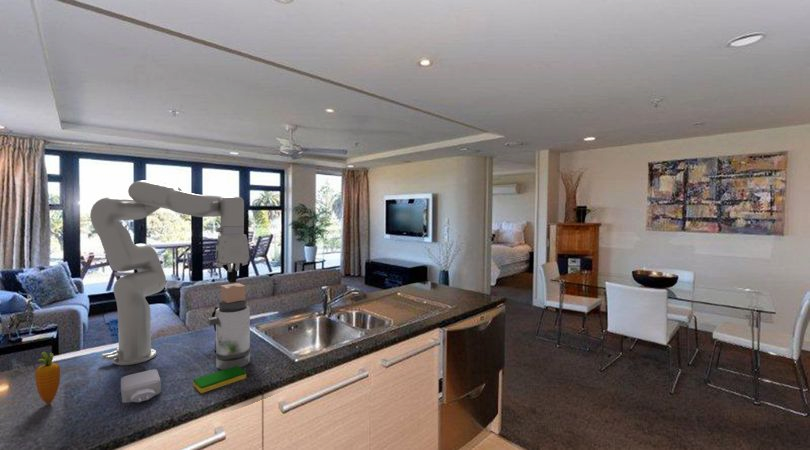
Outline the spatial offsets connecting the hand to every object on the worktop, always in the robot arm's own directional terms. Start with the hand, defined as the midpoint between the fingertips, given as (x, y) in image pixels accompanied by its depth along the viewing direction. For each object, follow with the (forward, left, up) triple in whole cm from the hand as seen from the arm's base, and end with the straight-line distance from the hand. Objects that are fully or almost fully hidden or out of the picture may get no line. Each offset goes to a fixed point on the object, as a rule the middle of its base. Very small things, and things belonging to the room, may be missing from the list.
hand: (232, 282), depth 126 cm
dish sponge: (-8, -11, -30) cm, 33 cm away
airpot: (-1, 0, -30) cm, 30 cm away
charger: (-28, -4, -30) cm, 41 cm away
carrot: (-47, +9, -30) cm, 56 cm away
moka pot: (+3, +15, -30) cm, 34 cm away
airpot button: (0, 0, -7) cm, 7 cm away
